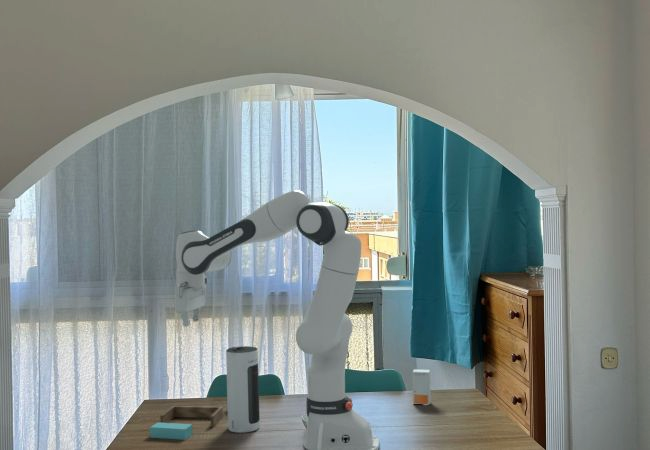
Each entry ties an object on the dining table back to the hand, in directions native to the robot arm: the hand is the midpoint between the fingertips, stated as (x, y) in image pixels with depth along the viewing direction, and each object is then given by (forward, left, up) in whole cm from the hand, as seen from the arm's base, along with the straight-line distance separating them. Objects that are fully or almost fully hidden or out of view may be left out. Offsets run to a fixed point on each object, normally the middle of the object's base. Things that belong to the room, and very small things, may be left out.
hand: (191, 323), depth 209 cm
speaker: (-16, -2, -34) cm, 38 cm away
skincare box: (-74, -33, -34) cm, 88 cm away
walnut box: (+3, -8, -34) cm, 35 cm away
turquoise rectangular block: (+5, +7, -34) cm, 35 cm away
